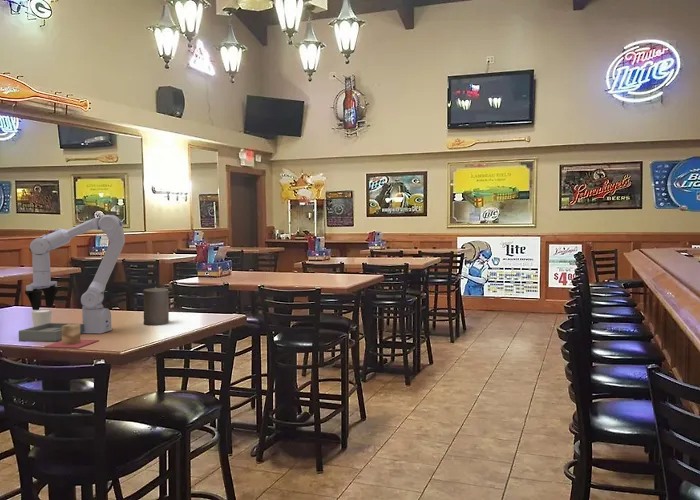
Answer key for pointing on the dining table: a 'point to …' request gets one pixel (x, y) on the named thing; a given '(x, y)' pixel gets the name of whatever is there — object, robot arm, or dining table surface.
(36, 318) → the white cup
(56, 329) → the grey green tray
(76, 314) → the dining table surface
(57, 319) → the dining table surface
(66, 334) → the maple block
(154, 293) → the pillar candle
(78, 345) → the bar mat
